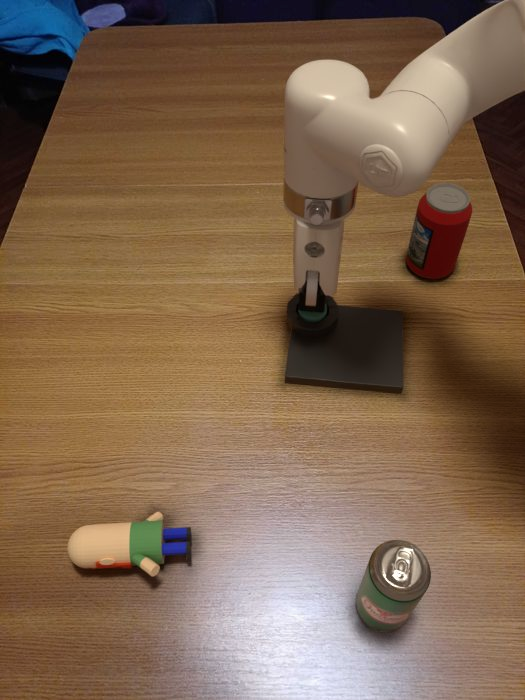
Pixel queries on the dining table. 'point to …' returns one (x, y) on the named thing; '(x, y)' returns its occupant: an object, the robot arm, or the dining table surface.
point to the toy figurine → (128, 544)
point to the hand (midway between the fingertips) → (311, 306)
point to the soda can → (392, 585)
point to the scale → (346, 348)
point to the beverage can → (439, 230)
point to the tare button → (313, 315)
